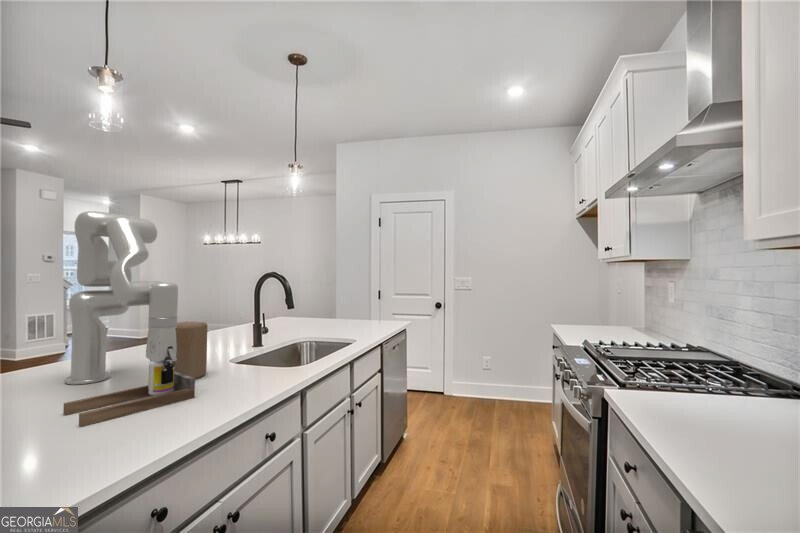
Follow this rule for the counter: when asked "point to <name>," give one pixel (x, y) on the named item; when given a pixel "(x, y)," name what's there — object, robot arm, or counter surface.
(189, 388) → the shelf lane
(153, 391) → the supplement bottle
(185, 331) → the block
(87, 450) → the counter surface
